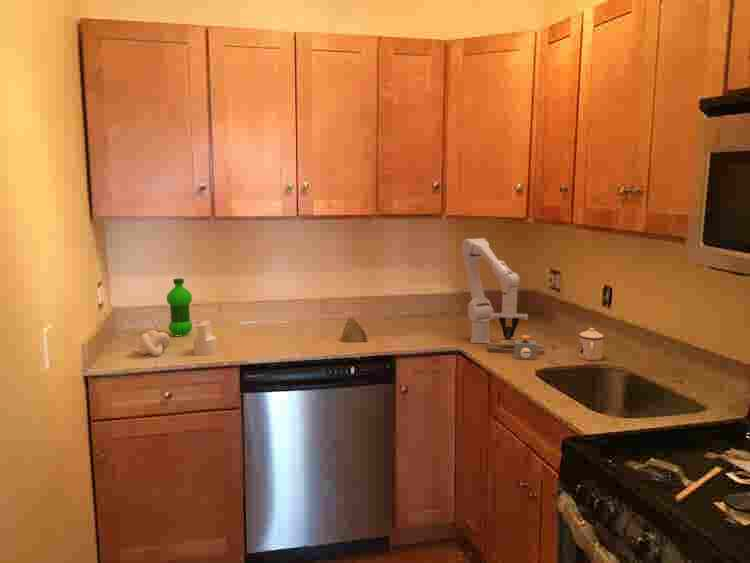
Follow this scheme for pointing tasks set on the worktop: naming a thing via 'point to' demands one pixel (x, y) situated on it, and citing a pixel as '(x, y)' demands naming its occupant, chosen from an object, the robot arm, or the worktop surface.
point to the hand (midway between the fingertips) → (508, 336)
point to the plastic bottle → (179, 308)
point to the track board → (510, 349)
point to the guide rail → (500, 344)
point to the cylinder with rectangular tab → (205, 340)
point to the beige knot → (153, 343)
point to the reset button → (525, 338)
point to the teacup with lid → (591, 345)
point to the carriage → (507, 338)
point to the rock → (353, 332)
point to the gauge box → (525, 349)
